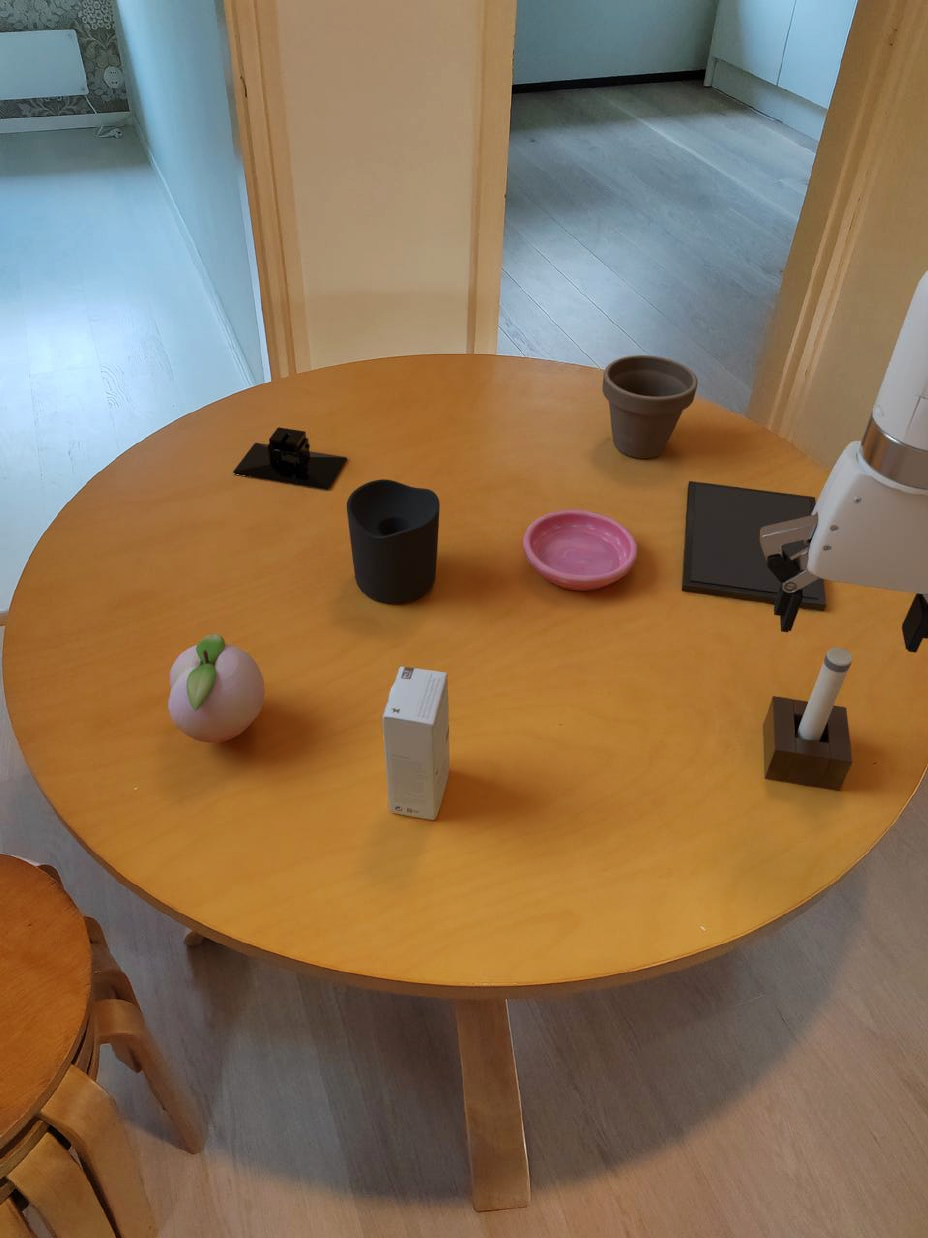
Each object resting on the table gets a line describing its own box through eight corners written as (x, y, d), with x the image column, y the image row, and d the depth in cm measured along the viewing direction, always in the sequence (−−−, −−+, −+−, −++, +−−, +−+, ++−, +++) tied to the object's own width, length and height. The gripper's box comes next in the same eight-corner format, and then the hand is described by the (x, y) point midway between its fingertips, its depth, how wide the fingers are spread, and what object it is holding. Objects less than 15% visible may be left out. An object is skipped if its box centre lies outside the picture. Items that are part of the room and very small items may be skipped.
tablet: (813, 502, 119) (815, 496, 118) (824, 611, 104) (827, 604, 104) (687, 486, 121) (689, 479, 120) (681, 590, 106) (683, 583, 106)
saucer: (587, 517, 116) (590, 495, 114) (657, 576, 108) (661, 553, 106) (499, 552, 111) (501, 529, 108) (566, 616, 103) (569, 593, 101)
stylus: (810, 750, 90) (851, 648, 81) (812, 767, 89) (853, 665, 80) (788, 746, 90) (826, 645, 82) (789, 763, 89) (828, 662, 80)
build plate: (232, 475, 121) (227, 442, 118) (256, 444, 126) (251, 412, 123) (328, 490, 119) (325, 457, 115) (348, 458, 124) (346, 426, 121)
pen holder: (416, 543, 111) (414, 469, 105) (454, 592, 105) (455, 516, 99) (338, 566, 108) (332, 491, 101) (373, 618, 102) (369, 542, 95)
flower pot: (643, 413, 133) (655, 344, 127) (702, 452, 126) (717, 382, 120) (576, 437, 129) (584, 367, 122) (634, 479, 122) (645, 407, 115)
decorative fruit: (272, 762, 88) (258, 684, 81) (178, 773, 87) (156, 696, 80) (268, 686, 95) (256, 609, 88) (181, 696, 93) (161, 618, 87)
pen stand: (834, 736, 92) (846, 707, 89) (839, 791, 87) (852, 762, 84) (762, 724, 92) (772, 695, 90) (764, 778, 88) (774, 749, 85)
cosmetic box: (436, 822, 83) (437, 727, 75) (385, 813, 84) (380, 718, 76) (451, 766, 88) (453, 671, 80) (402, 758, 88) (398, 663, 80)
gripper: (1040, 436, 69) (950, 617, 81) (788, 403, 71) (736, 584, 83) (1067, 497, 63) (966, 681, 75) (793, 459, 66) (736, 644, 77)
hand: (845, 630), depth 79 cm, fingers open, 9 cm apart
